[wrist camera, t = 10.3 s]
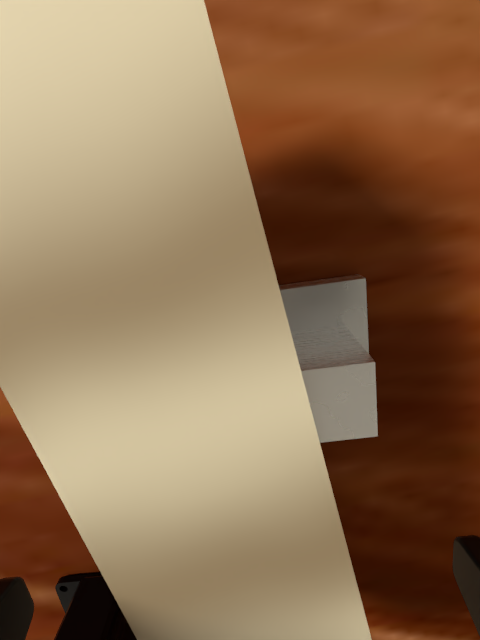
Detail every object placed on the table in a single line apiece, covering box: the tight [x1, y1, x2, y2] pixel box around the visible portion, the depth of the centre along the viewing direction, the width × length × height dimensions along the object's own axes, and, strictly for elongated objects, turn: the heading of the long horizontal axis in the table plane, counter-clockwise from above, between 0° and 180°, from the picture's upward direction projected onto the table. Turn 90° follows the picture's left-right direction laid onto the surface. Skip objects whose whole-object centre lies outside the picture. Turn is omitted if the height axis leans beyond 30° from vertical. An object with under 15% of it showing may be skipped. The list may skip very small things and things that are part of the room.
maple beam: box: [0, 0, 372, 640], centre depth 10 cm, size 24×5×6 cm, turn 16°
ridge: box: [279, 274, 378, 443], centre depth 16 cm, size 7×12×5 cm, turn 98°
